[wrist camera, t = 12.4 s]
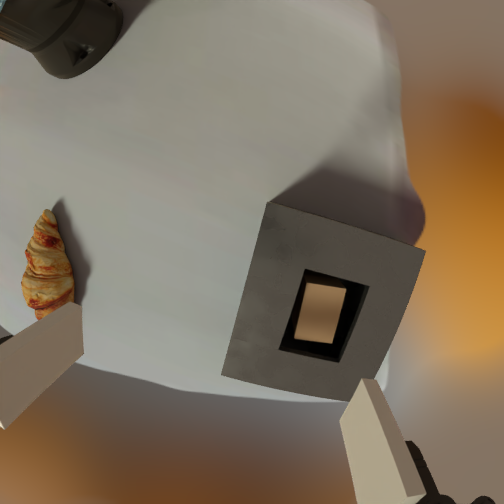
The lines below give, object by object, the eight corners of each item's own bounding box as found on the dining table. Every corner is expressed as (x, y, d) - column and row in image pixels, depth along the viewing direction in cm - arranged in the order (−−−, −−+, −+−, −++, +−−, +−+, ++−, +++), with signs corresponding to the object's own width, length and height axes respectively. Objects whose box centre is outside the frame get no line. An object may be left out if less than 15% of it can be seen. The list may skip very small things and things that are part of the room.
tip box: (269, 201, 33) (267, 202, 25) (395, 239, 32) (425, 250, 24) (231, 341, 36) (220, 375, 28) (347, 367, 36) (360, 403, 28)
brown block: (301, 268, 33) (306, 282, 27) (334, 273, 33) (346, 288, 27) (291, 316, 34) (294, 338, 28) (323, 320, 34) (331, 343, 28)
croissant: (55, 208, 39) (13, 210, 32) (77, 207, 34) (24, 210, 27) (66, 329, 42) (28, 340, 36) (90, 351, 37) (46, 365, 30)
